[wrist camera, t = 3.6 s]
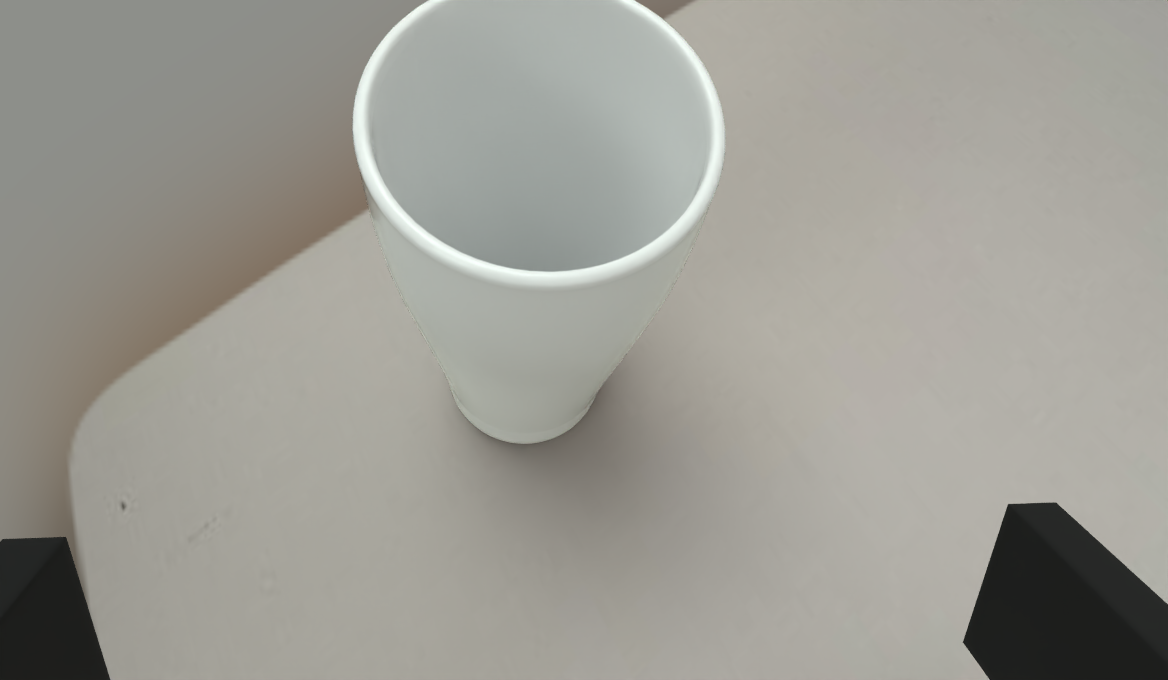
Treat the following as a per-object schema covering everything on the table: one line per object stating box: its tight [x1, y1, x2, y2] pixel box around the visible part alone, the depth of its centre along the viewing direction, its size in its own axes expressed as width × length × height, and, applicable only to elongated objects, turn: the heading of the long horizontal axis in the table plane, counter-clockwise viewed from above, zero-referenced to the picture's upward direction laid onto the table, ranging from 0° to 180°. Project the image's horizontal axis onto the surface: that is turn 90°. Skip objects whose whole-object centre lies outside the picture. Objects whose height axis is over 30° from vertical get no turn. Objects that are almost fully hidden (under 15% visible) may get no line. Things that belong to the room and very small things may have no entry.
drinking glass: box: [352, 0, 726, 444], centre depth 20 cm, size 7×7×15 cm
